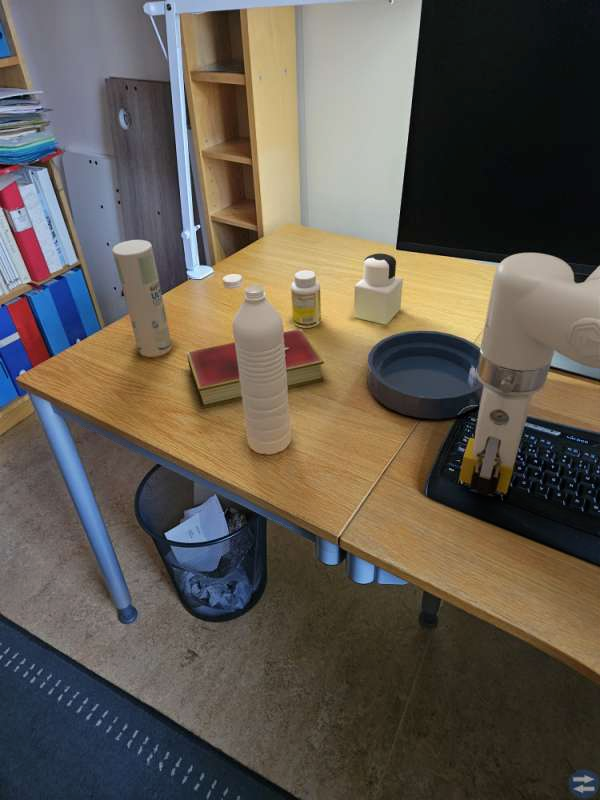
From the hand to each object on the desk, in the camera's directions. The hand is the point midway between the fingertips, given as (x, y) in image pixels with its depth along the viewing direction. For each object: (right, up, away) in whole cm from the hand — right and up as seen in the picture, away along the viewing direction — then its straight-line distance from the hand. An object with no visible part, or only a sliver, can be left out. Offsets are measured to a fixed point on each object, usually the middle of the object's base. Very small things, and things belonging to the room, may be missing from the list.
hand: (485, 479), depth 74 cm
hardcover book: (-32, +15, +24) cm, 43 cm away
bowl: (-3, +13, +20) cm, 24 cm away
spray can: (-52, +20, +32) cm, 64 cm away
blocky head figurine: (-9, +28, +39) cm, 49 cm away
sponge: (0, 0, 0) cm, 0 cm away
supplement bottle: (-23, +26, +38) cm, 51 cm away
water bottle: (-30, +5, +11) cm, 32 cm away
